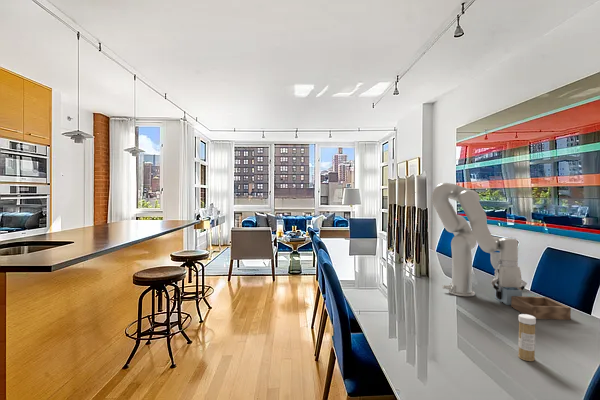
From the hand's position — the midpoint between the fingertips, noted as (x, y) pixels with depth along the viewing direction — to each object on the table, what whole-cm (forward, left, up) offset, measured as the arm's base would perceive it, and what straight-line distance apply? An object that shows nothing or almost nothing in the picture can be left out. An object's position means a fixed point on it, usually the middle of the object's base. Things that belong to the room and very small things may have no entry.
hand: (508, 298), depth 169 cm
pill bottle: (-27, -62, -2) cm, 68 cm away
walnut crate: (+5, -16, -1) cm, 17 cm away
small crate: (0, 0, -1) cm, 1 cm away
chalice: (+13, +38, -2) cm, 40 cm away
